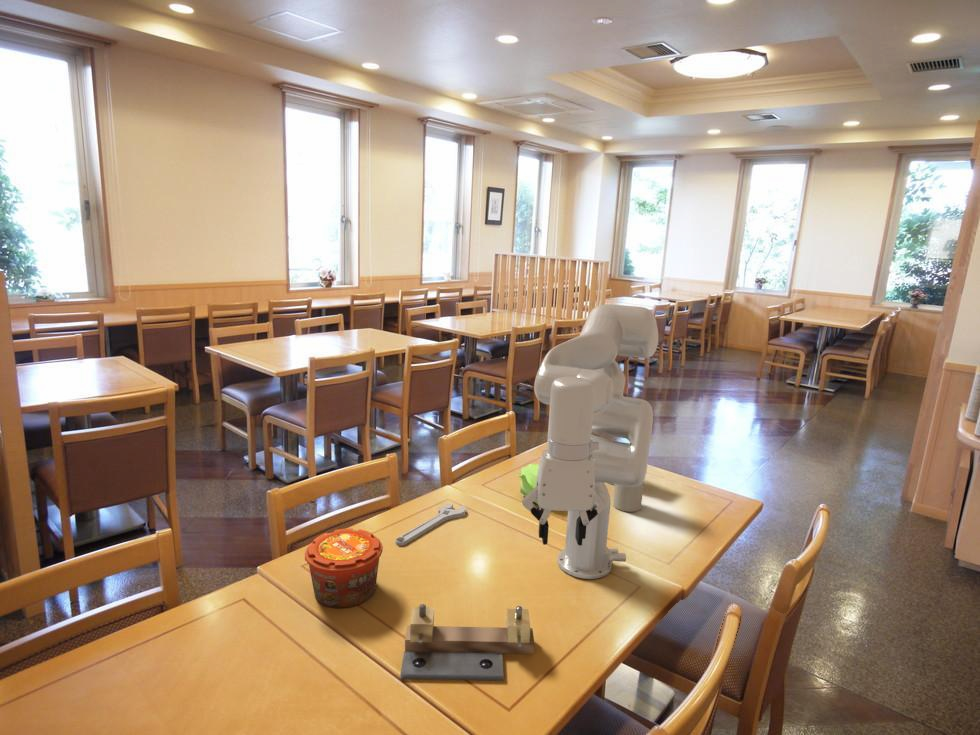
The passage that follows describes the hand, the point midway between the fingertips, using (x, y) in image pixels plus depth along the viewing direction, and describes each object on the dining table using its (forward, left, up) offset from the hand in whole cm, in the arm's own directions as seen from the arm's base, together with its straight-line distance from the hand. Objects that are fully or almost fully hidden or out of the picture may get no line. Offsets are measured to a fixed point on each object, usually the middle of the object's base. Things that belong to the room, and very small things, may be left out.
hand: (561, 540), depth 107 cm
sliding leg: (+7, +1, -20) cm, 21 cm away
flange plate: (+19, +6, -23) cm, 30 cm away
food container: (+43, -17, -23) cm, 51 cm away
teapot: (-5, -64, -23) cm, 68 cm away
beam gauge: (+16, +1, -23) cm, 28 cm away
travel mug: (-29, -60, -23) cm, 70 cm away
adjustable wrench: (+27, -46, -23) cm, 58 cm away
